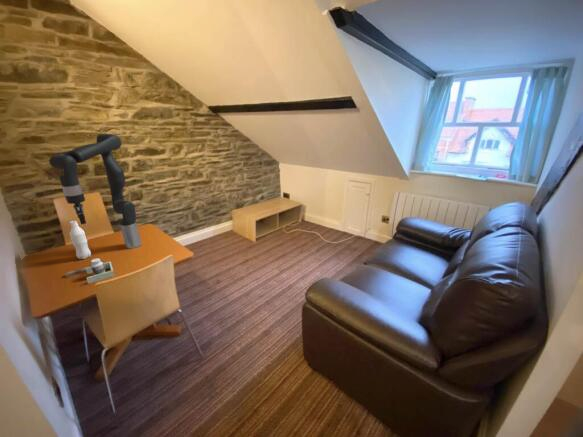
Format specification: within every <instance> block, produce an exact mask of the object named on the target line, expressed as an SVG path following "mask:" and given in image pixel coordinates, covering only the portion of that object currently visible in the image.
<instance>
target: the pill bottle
mask: <svg viewBox="0 0 583 437" xmlns="http://www.w3.org/2000/svg"><path fill="white" fill-rule="evenodd" d="M90 262H91V265H90V266H91V268H92V271H93V272H92V275H93V276H94V275H97V274H101V273H104V272H106V269H104V265H103V263H104V262H103V261H101V258H93V259H92V260H91V261H90Z"/></svg>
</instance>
